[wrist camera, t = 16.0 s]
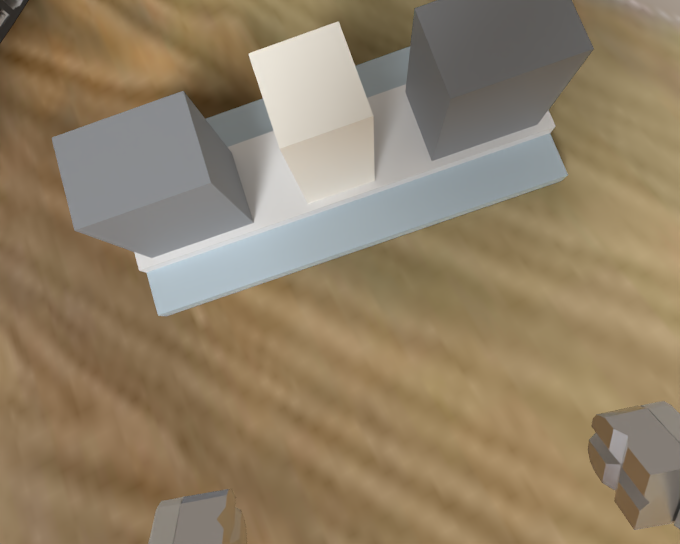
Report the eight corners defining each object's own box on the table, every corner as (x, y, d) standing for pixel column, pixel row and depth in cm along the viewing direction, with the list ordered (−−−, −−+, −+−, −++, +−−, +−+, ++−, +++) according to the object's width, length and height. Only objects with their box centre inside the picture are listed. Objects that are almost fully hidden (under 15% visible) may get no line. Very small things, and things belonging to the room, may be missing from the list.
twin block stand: (122, 157, 35) (18, 82, 24) (494, 26, 34) (544, -107, 24) (166, 316, 33) (72, 306, 23) (561, 181, 32) (645, 108, 22)
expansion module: (283, 130, 32) (246, 48, 23) (348, 107, 31) (337, 16, 23) (307, 203, 31) (279, 148, 22) (374, 180, 31) (373, 115, 22)
